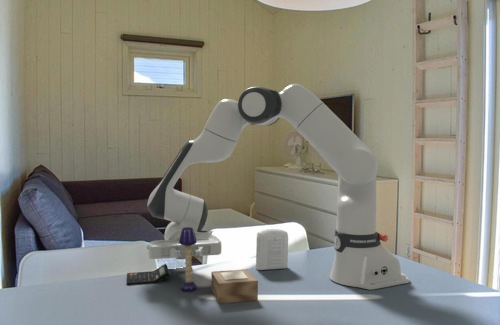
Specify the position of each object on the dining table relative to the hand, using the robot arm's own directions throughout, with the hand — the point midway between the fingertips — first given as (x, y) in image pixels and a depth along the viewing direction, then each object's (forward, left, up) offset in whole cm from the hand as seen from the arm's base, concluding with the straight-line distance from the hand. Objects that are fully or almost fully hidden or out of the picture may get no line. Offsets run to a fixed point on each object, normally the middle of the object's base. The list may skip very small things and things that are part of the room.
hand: (188, 255), depth 119 cm
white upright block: (-28, -14, -10) cm, 33 cm away
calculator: (+10, -13, -10) cm, 19 cm away
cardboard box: (-11, +6, -10) cm, 16 cm away
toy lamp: (0, -1, -10) cm, 10 cm away
